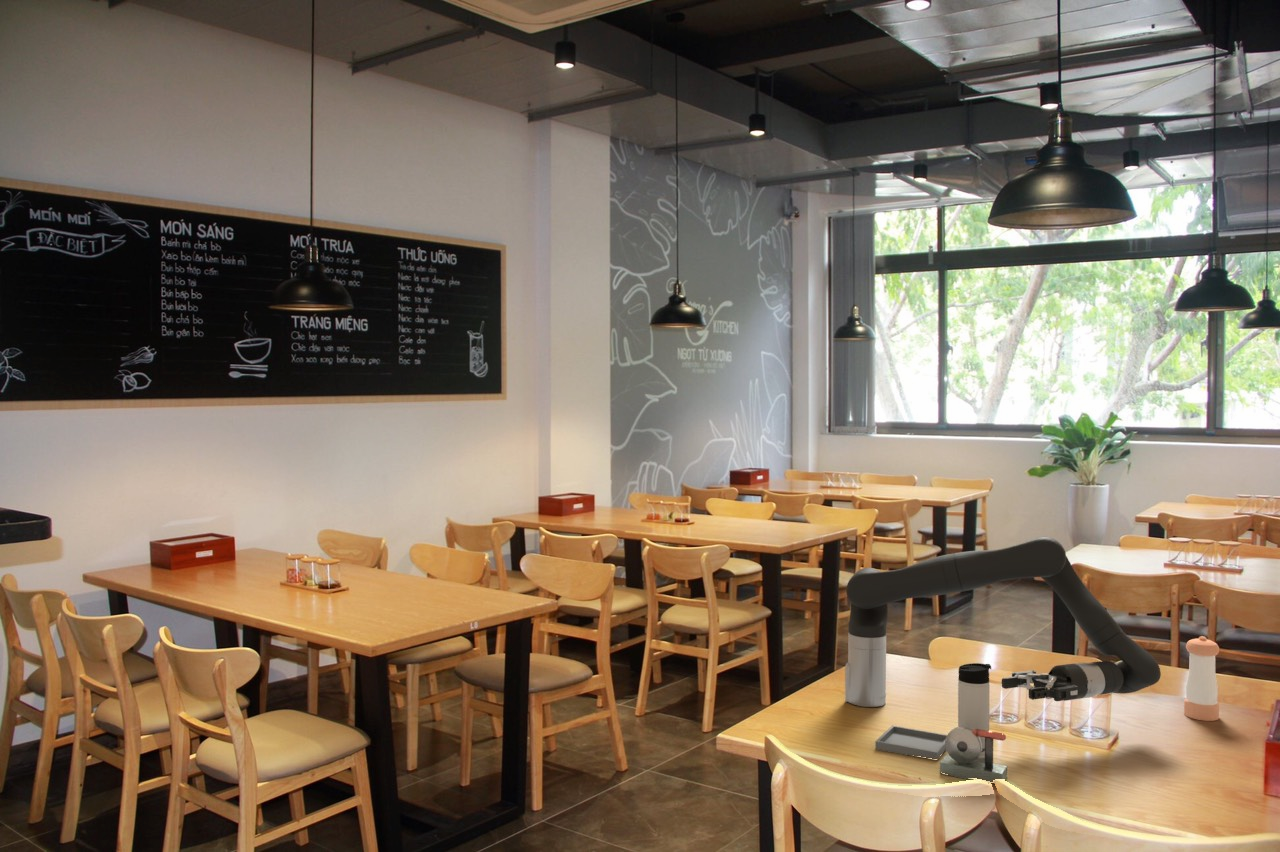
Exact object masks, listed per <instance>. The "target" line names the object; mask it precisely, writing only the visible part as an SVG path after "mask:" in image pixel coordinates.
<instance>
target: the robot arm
mask: <svg viewBox="0 0 1280 852" xmlns="http://www.w3.org/2000/svg"><path fill="white" fill-rule="evenodd" d="M1030 578H1041V579H1042V580H1044V582H1046V584H1048V586H1049V587H1051V588H1052V590H1053V591H1054V592H1055V593H1056V594H1057V596H1058V597H1059V598H1060V599H1061V601H1062V602H1063V603H1064V605H1065V607H1066V608H1067V609H1068V611H1069V613H1070V614H1071V616H1072V617H1073V618H1074V620H1075V621H1076V623H1077V625H1078V626H1079V628H1080V629H1081V630H1082V631H1083V633H1084V634H1085V636H1086V637H1087V638H1088V640H1089V641H1090V642H1091V643H1092V645H1093V646H1094V647H1095V649H1096V650H1097V651H1098V652H1099V654H1101V655H1103V656H1114V657H1117V658H1118V659H1120V660H1121V661H1119V662H1112V661H1108V660H1107V661H1106V660H1104V661H1103V660H1102V661H1092V662H1075V663H1067V664H1066V663H1065V664H1059V665H1054V666H1052V668H1051V669H1050V671H1049V673H1045V672H1041V673H1037V671H1036V670H1025V671H1013V672H1011V676H1007V677H1003V678H1001V688H1002V689H1005V690H1007V689H1014V688H1015V689H1016V688H1023V689H1024V688H1025V689H1026V690H1028V699H1029V700H1032V701H1033V700H1042V699H1047V700H1052V699H1053V701H1055V702H1062V701H1063V702H1065V701H1073V700H1081V699H1088V698H1093V697H1095V696H1101V695H1108V694H1119V695H1121V694H1122V695H1123V694H1124V695H1125V694H1132V693H1136V692H1138V691H1141V690H1143V689H1146V688H1149V687H1152V686H1153V685H1155V684H1157V683H1158V682H1159V680H1160V679H1161V677H1162V676H1161V675H1162V674H1161V672H1162V671H1161V669H1160V665H1159V664H1158V661H1157V660H1156V659H1155V658H1154V657H1153V655H1151V654H1150V653H1149V652H1148V651H1147V650H1146V649H1144V648H1143V647H1142V646H1141V645H1140V644H1138V643H1137V642H1135V640H1133V639H1132V638H1130V637H1129V636H1128V635H1127V634H1126V633H1125V632H1124V631H1123V629H1122V628H1121V626H1119V623H1117V622H1116V620H1115V619H1114V618H1113V617H1112V615H1111V614H1110V613H1109V612H1108V611H1107V609H1106V607H1104V606H1103V604H1102V603H1100V601H1099V599H1097V598H1096V597H1095V595H1094V594H1092V592H1091V591H1090V590H1089V589H1088V588H1087V586H1086V585H1085V583H1084V582H1083V581H1082V580H1081V578H1080V576H1079V575H1078V574H1077V572H1076V571H1075V569H1074V567H1073V566H1072V564H1071V562H1070V560H1069V558H1068V557H1067V553H1066V549H1065V548H1064V546H1063V544H1061V542H1060V541H1058V540H1056V539H1055V538H1052V537H1050V536H1049V537H1048V536H1040V537H1039V536H1038V537H1036V538H1034V539H1031V540H1029V541H1026V542H1022V543H1019V544H1016V545H1012V546H1008V547H1003V548H998V549H987V550H984V549H983V550H981V549H980V550H969V551H959V552H955V553H949V554H943V555H940V556H939V555H938V556H935V557H932V558H931V557H930V558H927V559H924V560H922V561H918V562H916V563H913V564H912V565H908V566H905V567H903V568H898V569H893V570H884V571H880V570H878V569H876V568H874V567H864V568H861V569H859V570H858V571H856V572H855V573H854V574H852V576H851V577H850V578H849V580H848V582H847V585H846V596H847V599H848V600H849V602H850V612H849V618H848V619H849V620H848V628H847V629H848V633H847V635H848V636H847V637H848V638H847V639H848V641H847V643H848V645H847V646H848V649H847V652H848V653H847V658H848V659H847V660H848V661H847V662H846V663H845V665H844V666H845V667H844V668H845V669H844V672H845V674H844V675H845V683H844V688H845V689H844V690H845V691H844V702H845V703H850V704H851V705H855V706H858V707H865V708H866V707H867V708H868V707H869V708H876V707H882V706H885V704H886V699H887V697H886V695H887V693H886V692H887V691H886V690H887V626H888V617H889V615H888V614H889V612H888V611H889V604H891V603H895V602H898V601H902V600H907V599H916V598H917V599H918V598H926V597H934V596H935V597H936V596H942V595H950V594H955V593H956V594H957V593H961V592H966V591H972V590H976V589H980V588H983V587H987V586H990V585H994V584H997V583H1000V582H1004V581H1010V580H1017V579H1019V580H1020V579H1030ZM1032 684H1033V686H1032Z"/></svg>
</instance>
